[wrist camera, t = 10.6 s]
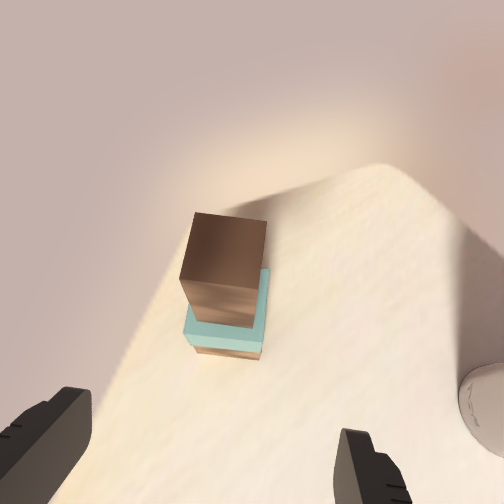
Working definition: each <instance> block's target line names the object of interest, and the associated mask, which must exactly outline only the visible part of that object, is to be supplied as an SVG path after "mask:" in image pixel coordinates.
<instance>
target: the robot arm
mask: <svg viewBox="0 0 504 504" xmlns="http://www.w3.org/2000/svg"><path fill="white" fill-rule="evenodd" d="M91 405H92V403H91V392H90V391H89V390H86V389H80V388H73V387H63V388H62V389H61V390H60V391H59V392H58V393H57V394H56V395H55V396H53V397H52V398H51V399H50V400H49V401H48V402H47V401H42V402H40V403H39V404H37V405H35V406H33V407H31V408H29V409H27V410H26V411H24V412H23V413H22V414H21V415H20V416H19V417H18V418H16V419H15V420H14V421H13V422H12V423H11V424H10V426H9V427H6V428H5V429H4V430H3V431H2V432H1V433H0V504H47V503H48V502H49V501H50V499H51V498H52V496H53V495H54V494H55V492H56V491H57V490H58V488H59V487H60V485H61V484H62V483H63V481H64V480H65V479H66V477H67V476H68V474H69V473H70V472H71V470H72V469H73V467H74V466H75V465H76V463H77V462H78V461H79V459H80V458H81V456H82V455H83V454H84V452H85V450H86V449H87V447H88V444H89V441H90V438H91V433H92V410H91V409H92V408H91V407H92V406H91ZM459 406H460V410H461V414H462V417H463V419H464V421H465V424H466V426H467V427H468V429H469V430H470V432H471V434H472V435H473V436H474V437H475V438H476V439H477V441H478V442H479V443H480V444H481V445H483V446H484V447H485V448H486V449H488V450H489V451H491V452H492V453H494V454H496V455H498V456H500V457H503V458H504V362H499V363H495V364H491V365H486V366H482V367H479V368H476V369H474V370H472V371H471V372H470V373H468V374H467V376H466V377H465V378H464V380H463V382H462V384H461V387H460V392H459ZM333 488H334V497H335V504H412V500H411V498H410V495H409V492H408V491H407V490H406V485H405V482H404V480H403V477H402V475H401V472H400V470H399V468H398V467H397V466H396V465H395V463H394V462H393V461H392V460H391V459H390V457H389V456H388V455H387V454H385V453H378V452H375V450H374V447H373V444H372V441H371V438H370V435H369V433H368V432H366V431H359V430H352V429H345V428H343V429H342V430H341V434H340V439H339V445H338V450H337V456H336V461H335V467H334V476H333Z"/></svg>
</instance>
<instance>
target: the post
mask: <svg viewBox="0 0 504 504" xmlns="http://www.w3.org/2000/svg"><path fill="white" fill-rule="evenodd" d="M266 225H267V221H260V220H252V219H244V218H236V217H229V216H221V215H213V214H205V213H197V212H195V215H194V219H193V223H192V227H191V232H190V236H189V240H188V244H187V248H186V252H185V256H184V260H183V265H182V269H181V273H180V277H179V280H180V282H181V285H182V287H183V290H184V292H185V294H186V297H187V299H188V301H189V304H190V306H191V308H192V311H193V313H194V316H195V318H196V320H197V321H199V322H206V323H213V324H221V325H228V326H235V327H243V328H250V329H253V324H254V317H255V309H256V302H257V295H258V288H259V280H260V272H261V264H262V257H263V249H264V241H265V233H266Z"/></svg>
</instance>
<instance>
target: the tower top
mask: <svg viewBox="0 0 504 504" xmlns="http://www.w3.org/2000/svg"><path fill="white" fill-rule="evenodd" d="M268 279H269V269H264V268H261V272H260V280H259V288H258V295H257V302H256V309H255V317H254V324H253V329H250V328H243V327H235V326H228V325H221V324H213V323H206V322H199V321H197V320H196V318H195V316H194V313H193V311H192V308H191V306H190V304H189V305H188V311H187V316H186V321H185V326H184V331H183V334H184V336H185V338H186V339H187V341H188V342H189V344H190V345H194V346H202V347H211V348H220V349H229V350H238V351H247V352H256V353H260V351H261V347H262V344H263V336H264V324H265V313H266V302H267V291H268Z"/></svg>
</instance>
